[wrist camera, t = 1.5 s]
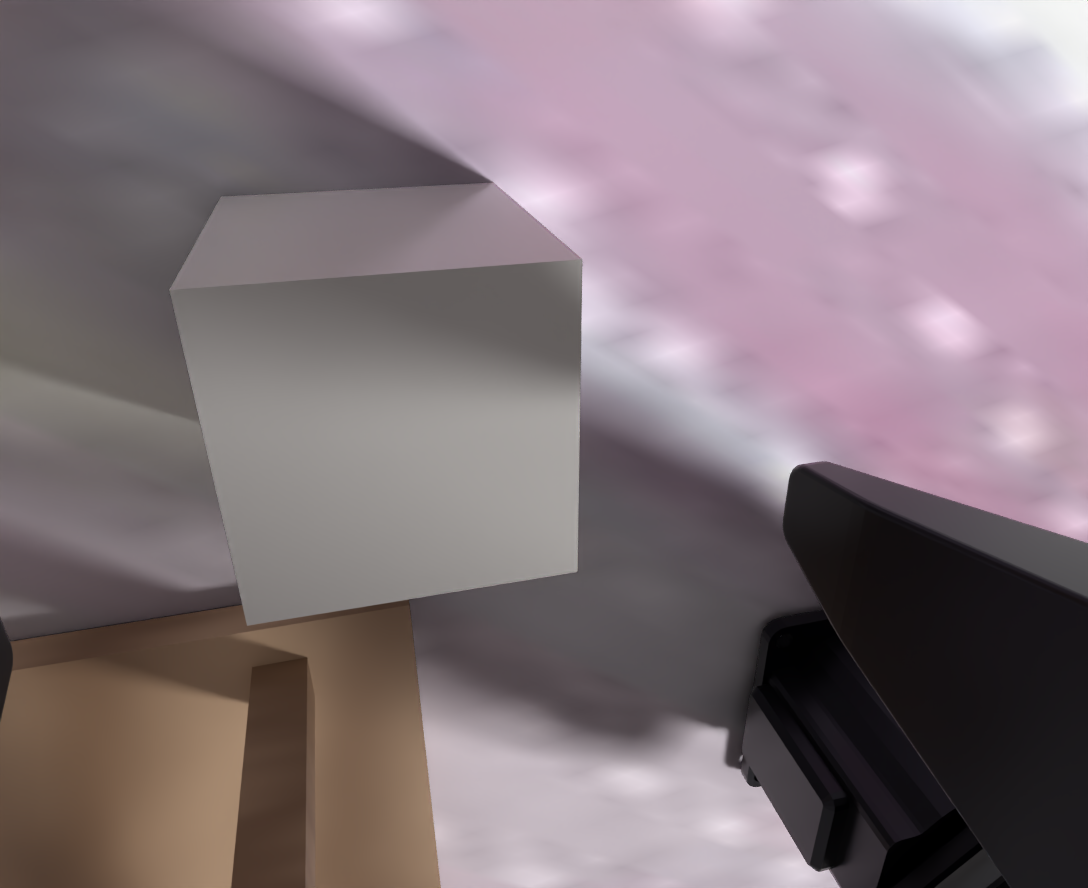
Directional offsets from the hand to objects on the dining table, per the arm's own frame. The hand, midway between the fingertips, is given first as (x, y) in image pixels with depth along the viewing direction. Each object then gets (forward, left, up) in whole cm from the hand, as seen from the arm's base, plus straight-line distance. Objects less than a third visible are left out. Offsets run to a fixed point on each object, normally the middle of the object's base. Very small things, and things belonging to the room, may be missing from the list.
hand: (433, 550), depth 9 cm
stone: (0, 0, -8) cm, 8 cm away
